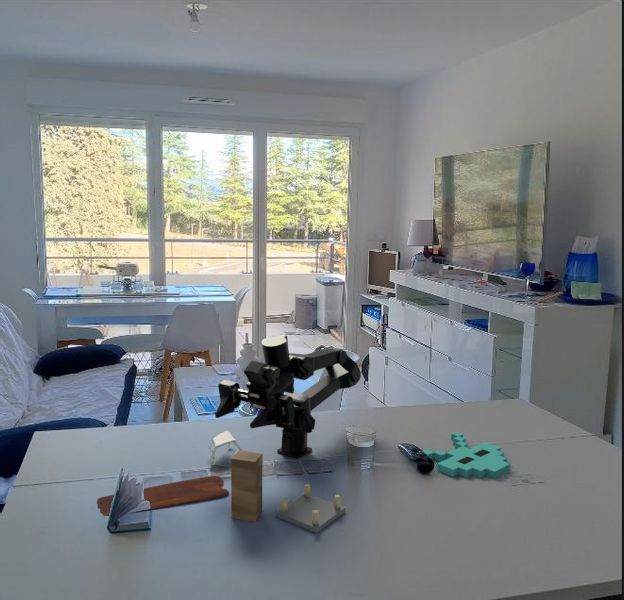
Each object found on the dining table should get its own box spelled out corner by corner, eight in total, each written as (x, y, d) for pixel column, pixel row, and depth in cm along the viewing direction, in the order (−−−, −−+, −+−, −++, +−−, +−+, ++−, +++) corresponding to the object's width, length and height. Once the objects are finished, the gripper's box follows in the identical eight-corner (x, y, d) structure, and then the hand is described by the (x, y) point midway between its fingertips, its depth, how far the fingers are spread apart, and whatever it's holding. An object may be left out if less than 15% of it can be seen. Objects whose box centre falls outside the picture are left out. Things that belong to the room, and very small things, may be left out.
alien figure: (407, 459, 149) (477, 489, 134) (408, 451, 149) (478, 480, 134) (455, 439, 162) (524, 464, 147) (456, 431, 162) (525, 456, 147)
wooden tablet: (219, 478, 137) (219, 471, 137) (231, 498, 128) (231, 491, 128) (95, 498, 127) (95, 491, 127) (99, 522, 118) (98, 514, 118)
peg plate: (305, 497, 128) (305, 481, 128) (345, 511, 123) (345, 495, 122) (275, 516, 120) (276, 500, 120) (316, 533, 115) (317, 516, 114)
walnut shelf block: (239, 508, 123) (239, 450, 121) (262, 511, 122) (262, 453, 120) (231, 517, 120) (231, 458, 117) (255, 521, 118) (255, 461, 116)
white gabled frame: (242, 465, 143) (243, 446, 142) (207, 466, 142) (206, 447, 141) (242, 445, 155) (242, 427, 154) (209, 446, 154) (209, 427, 153)
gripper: (236, 347, 141) (193, 379, 129) (305, 362, 132) (265, 398, 120) (242, 388, 146) (200, 423, 133) (309, 405, 137) (271, 444, 125)
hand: (233, 421), depth 128 cm, fingers open, 9 cm apart
